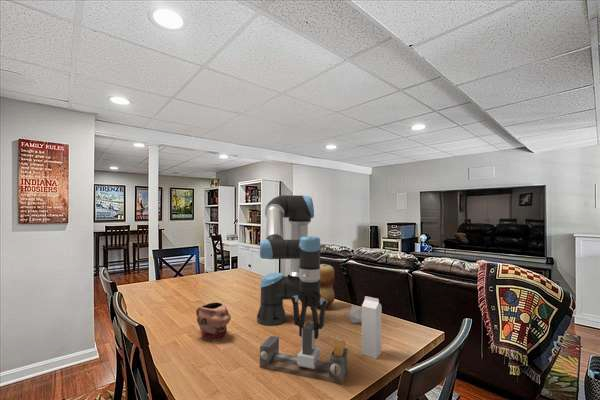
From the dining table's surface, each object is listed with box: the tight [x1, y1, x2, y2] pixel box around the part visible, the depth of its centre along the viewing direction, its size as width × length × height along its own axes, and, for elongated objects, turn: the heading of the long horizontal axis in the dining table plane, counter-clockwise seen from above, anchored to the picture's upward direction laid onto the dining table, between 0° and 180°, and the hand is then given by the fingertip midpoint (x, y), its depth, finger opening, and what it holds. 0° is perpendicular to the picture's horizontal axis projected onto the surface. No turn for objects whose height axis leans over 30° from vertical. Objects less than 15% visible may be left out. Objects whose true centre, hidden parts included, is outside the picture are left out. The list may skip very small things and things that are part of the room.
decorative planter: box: [195, 302, 232, 341], centre depth 128 cm, size 20×12×14 cm, turn 65°
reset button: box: [331, 339, 347, 356], centre depth 98 cm, size 4×4×4 cm
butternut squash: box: [317, 263, 335, 309], centre depth 169 cm, size 14×13×25 cm
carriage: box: [296, 322, 321, 369], centre depth 101 cm, size 6×8×13 cm
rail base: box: [259, 335, 348, 385], centre depth 102 cm, size 30×10×8 cm, turn 71°
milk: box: [361, 295, 383, 360], centre depth 114 cm, size 6×6×22 cm
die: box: [348, 305, 362, 324], centre depth 146 cm, size 8×9×10 cm
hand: (308, 346), depth 101 cm, fingers closed on carriage, 3 cm apart
